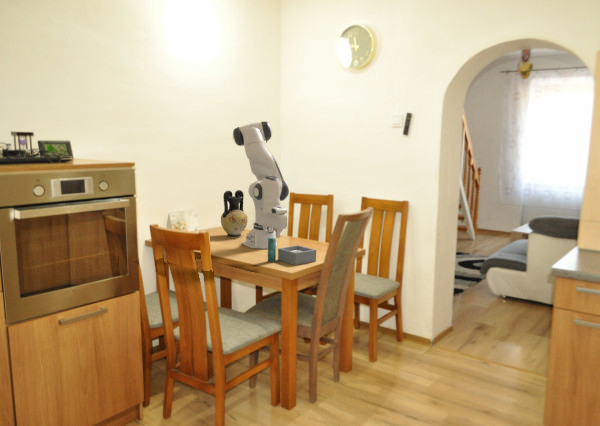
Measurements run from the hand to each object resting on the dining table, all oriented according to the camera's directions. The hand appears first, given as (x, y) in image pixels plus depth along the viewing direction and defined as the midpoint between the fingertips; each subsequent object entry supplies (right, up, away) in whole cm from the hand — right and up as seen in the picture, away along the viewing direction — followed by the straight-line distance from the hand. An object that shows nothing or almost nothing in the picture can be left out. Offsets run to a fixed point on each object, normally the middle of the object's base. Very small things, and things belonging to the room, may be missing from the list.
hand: (272, 235), depth 236 cm
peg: (0, -13, +2) cm, 13 cm away
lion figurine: (-3, -4, +68) cm, 68 cm away
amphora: (-28, -4, +65) cm, 71 cm away
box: (+13, -13, +6) cm, 19 cm away
